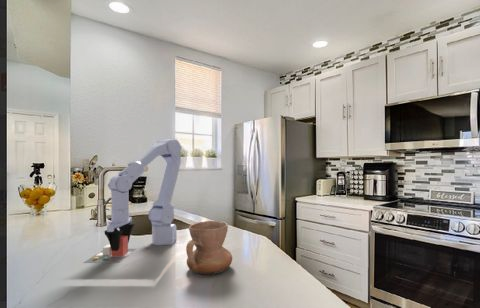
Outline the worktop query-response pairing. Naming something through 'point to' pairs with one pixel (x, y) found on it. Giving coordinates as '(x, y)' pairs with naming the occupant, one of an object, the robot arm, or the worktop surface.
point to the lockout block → (122, 247)
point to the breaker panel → (108, 258)
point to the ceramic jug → (208, 248)
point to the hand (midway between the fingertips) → (120, 246)
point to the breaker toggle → (107, 250)
